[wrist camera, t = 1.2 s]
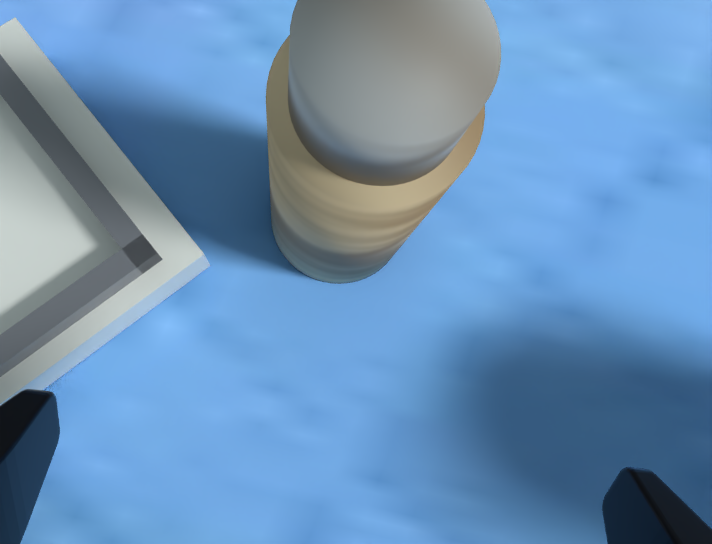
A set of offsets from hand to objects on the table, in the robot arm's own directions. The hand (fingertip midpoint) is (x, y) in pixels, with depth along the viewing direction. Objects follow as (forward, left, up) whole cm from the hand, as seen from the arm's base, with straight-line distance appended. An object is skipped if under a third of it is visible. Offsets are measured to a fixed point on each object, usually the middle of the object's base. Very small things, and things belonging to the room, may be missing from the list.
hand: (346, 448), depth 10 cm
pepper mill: (+6, +5, -13) cm, 15 cm away
